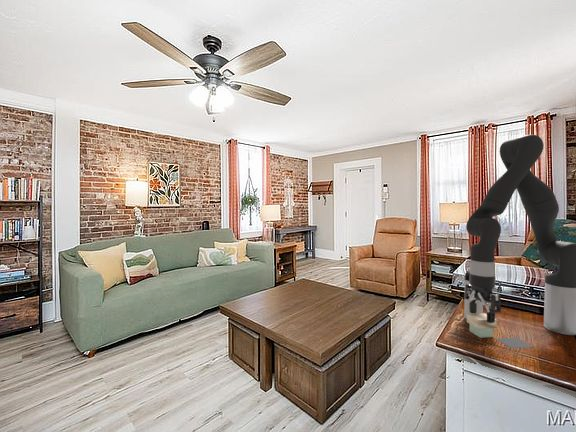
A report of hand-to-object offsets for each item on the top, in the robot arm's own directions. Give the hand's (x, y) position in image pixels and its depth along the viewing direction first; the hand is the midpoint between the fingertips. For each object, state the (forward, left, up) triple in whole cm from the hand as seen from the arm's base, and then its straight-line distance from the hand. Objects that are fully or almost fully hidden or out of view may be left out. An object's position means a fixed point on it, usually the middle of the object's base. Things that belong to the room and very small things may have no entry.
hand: (481, 317), depth 99 cm
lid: (0, 0, -3) cm, 3 cm away
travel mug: (-6, -12, -7) cm, 16 cm away
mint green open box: (0, 0, -7) cm, 7 cm away
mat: (-6, +6, -7) cm, 11 cm away
